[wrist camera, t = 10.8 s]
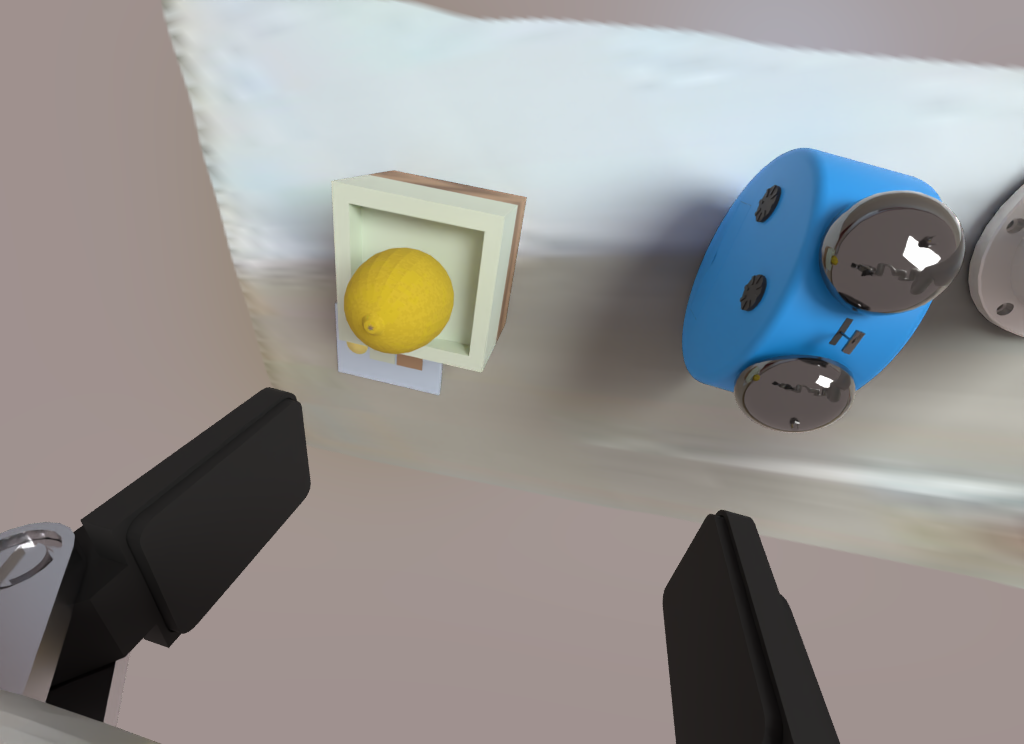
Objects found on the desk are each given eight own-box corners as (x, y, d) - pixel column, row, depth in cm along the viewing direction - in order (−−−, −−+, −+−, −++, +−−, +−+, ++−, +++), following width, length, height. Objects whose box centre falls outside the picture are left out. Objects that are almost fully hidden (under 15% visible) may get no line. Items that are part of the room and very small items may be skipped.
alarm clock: (741, 349, 33) (835, 485, 20) (664, 326, 33) (708, 447, 20) (847, 169, 27) (1087, 200, 14) (751, 142, 27) (897, 148, 14)
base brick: (526, 197, 30) (517, 205, 27) (505, 323, 36) (495, 343, 32) (393, 170, 31) (368, 174, 28) (390, 298, 36) (369, 315, 33)
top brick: (517, 205, 27) (505, 216, 23) (495, 343, 32) (481, 372, 28) (368, 174, 28) (331, 180, 24) (369, 315, 33) (338, 339, 29)
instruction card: (446, 327, 37) (444, 328, 36) (439, 394, 40) (438, 395, 40) (336, 302, 37) (334, 303, 37) (339, 370, 41) (337, 372, 40)
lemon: (405, 327, 29) (347, 386, 22) (371, 247, 27) (294, 285, 20) (480, 310, 28) (441, 367, 21) (451, 224, 25) (397, 257, 18)
